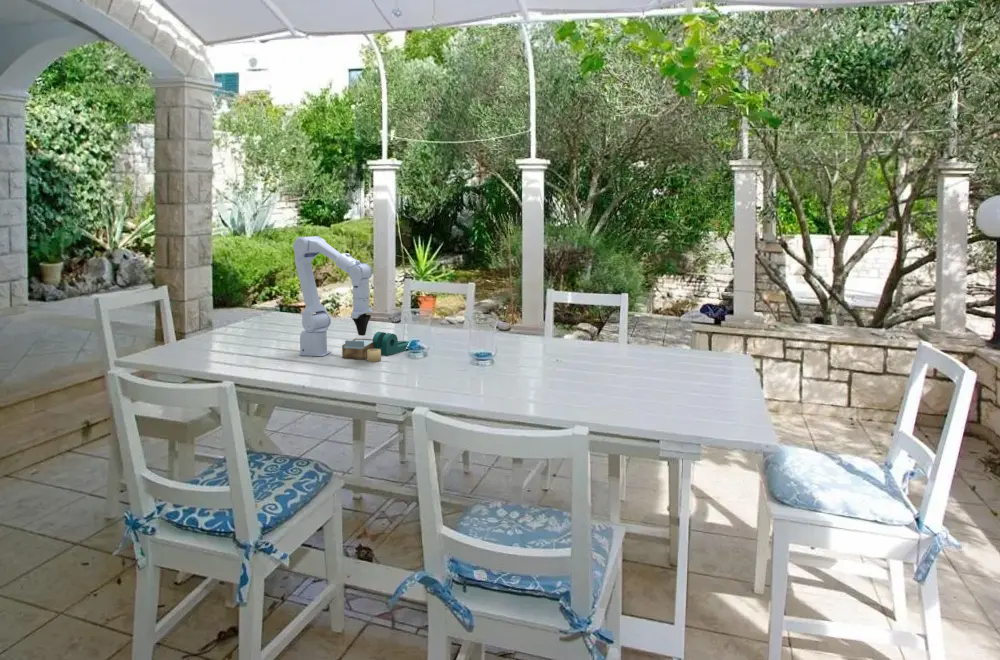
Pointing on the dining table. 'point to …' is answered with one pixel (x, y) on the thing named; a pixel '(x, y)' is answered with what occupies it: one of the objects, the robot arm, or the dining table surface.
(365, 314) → the robot arm
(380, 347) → the bracket
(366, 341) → the lid
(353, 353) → the pencil box
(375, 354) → the tape roll
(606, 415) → the dining table surface
